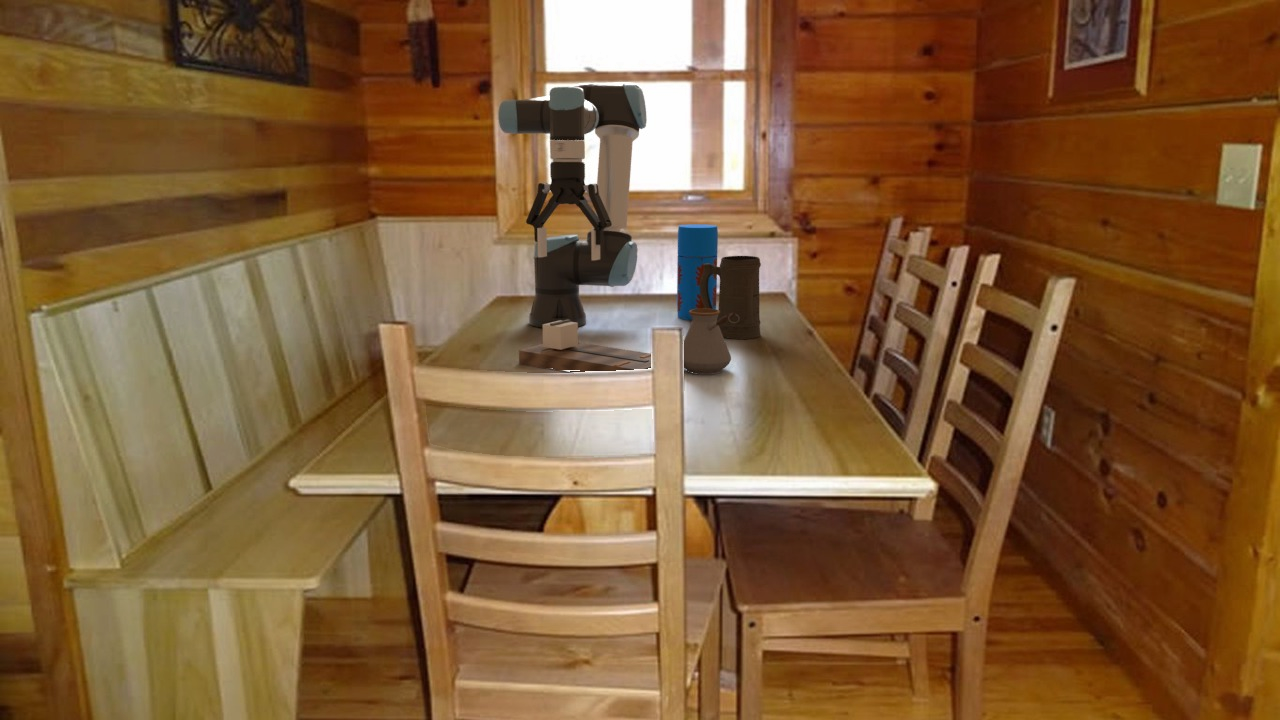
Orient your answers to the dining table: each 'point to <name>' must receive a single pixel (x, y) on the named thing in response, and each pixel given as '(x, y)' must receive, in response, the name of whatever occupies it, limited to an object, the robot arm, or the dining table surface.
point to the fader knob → (560, 334)
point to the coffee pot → (706, 342)
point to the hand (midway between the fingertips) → (568, 258)
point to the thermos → (695, 266)
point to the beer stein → (736, 295)
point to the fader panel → (585, 358)
